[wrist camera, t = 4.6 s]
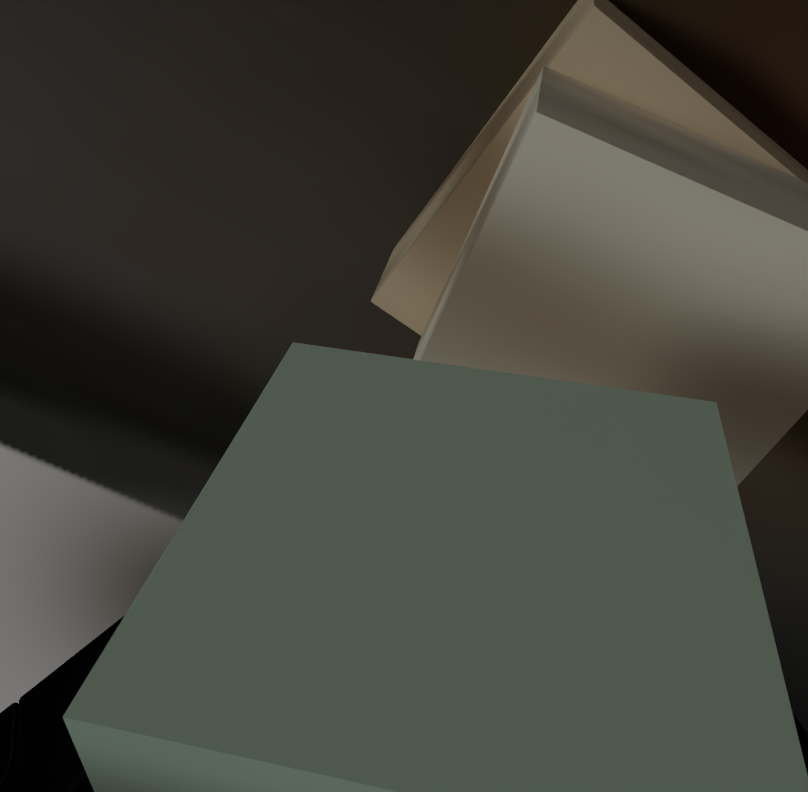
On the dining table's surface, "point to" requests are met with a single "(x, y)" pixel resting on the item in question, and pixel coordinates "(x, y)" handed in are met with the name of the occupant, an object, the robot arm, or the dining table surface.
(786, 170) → the oak slab
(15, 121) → the dining table surface
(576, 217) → the birch slab
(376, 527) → the sage cube
